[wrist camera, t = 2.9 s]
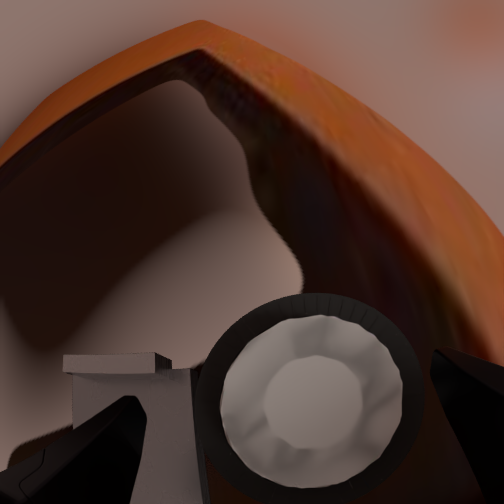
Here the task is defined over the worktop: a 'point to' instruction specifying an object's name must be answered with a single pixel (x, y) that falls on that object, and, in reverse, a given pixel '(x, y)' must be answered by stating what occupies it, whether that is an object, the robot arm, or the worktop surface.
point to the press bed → (148, 420)
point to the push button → (309, 400)
